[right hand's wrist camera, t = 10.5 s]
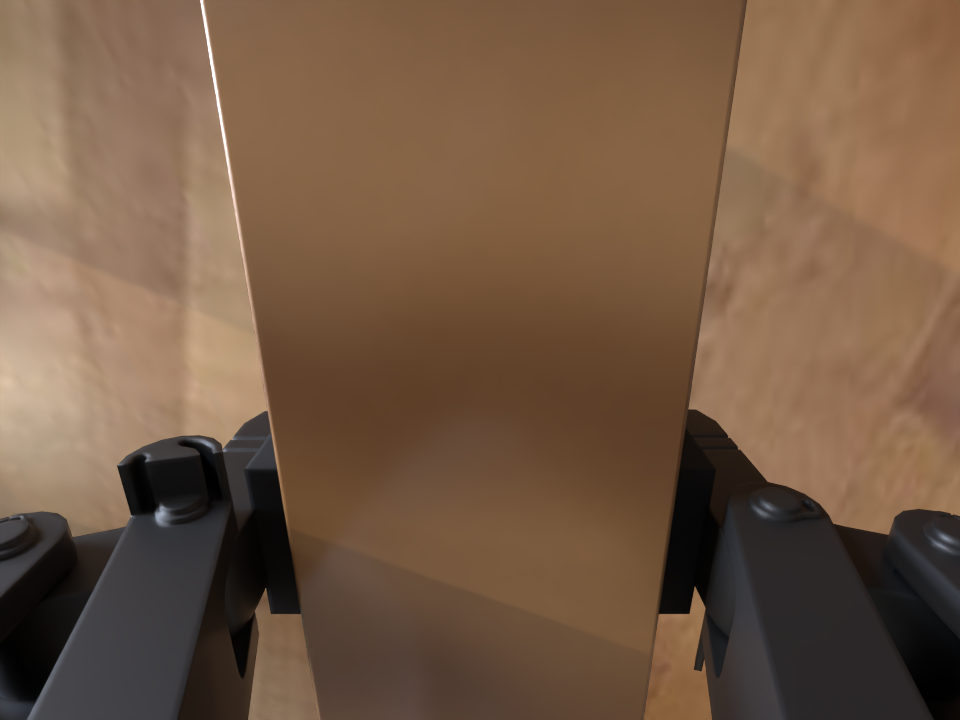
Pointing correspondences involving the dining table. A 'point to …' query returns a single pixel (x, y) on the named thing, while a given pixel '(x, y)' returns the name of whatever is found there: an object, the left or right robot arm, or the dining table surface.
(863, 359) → the dining table surface
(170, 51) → the dining table surface
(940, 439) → the dining table surface
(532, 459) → the post
